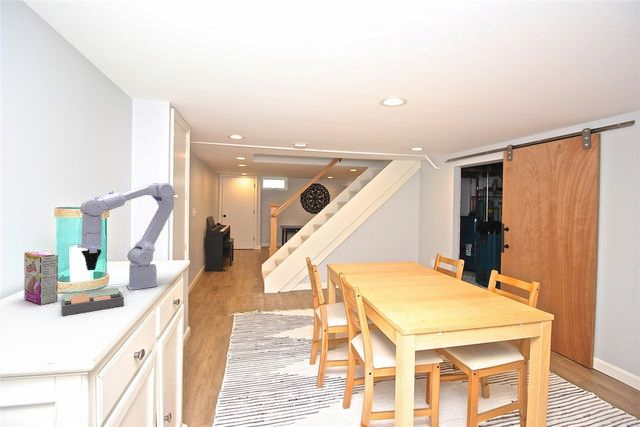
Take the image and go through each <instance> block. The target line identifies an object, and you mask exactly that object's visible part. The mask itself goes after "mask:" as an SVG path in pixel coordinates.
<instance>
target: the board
mask: <svg viewBox="0 0 640 427" xmlns="http://www.w3.org/2000/svg"><path fill="white" fill-rule="evenodd" d="M119 291H120V292H121V290H120V289H119V287H112V288H105V289H98V290H96V289H95V290H89V291H88V290H87V291H81V292H75V293H74V292H72V293H65V294H61V300H62V299H64V300H65V303H69V302H71V296H78V295H85V294H89V300H90V299H93V298H94V297H101V296H108V295H110V296H117V295H118V292H119Z"/></svg>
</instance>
